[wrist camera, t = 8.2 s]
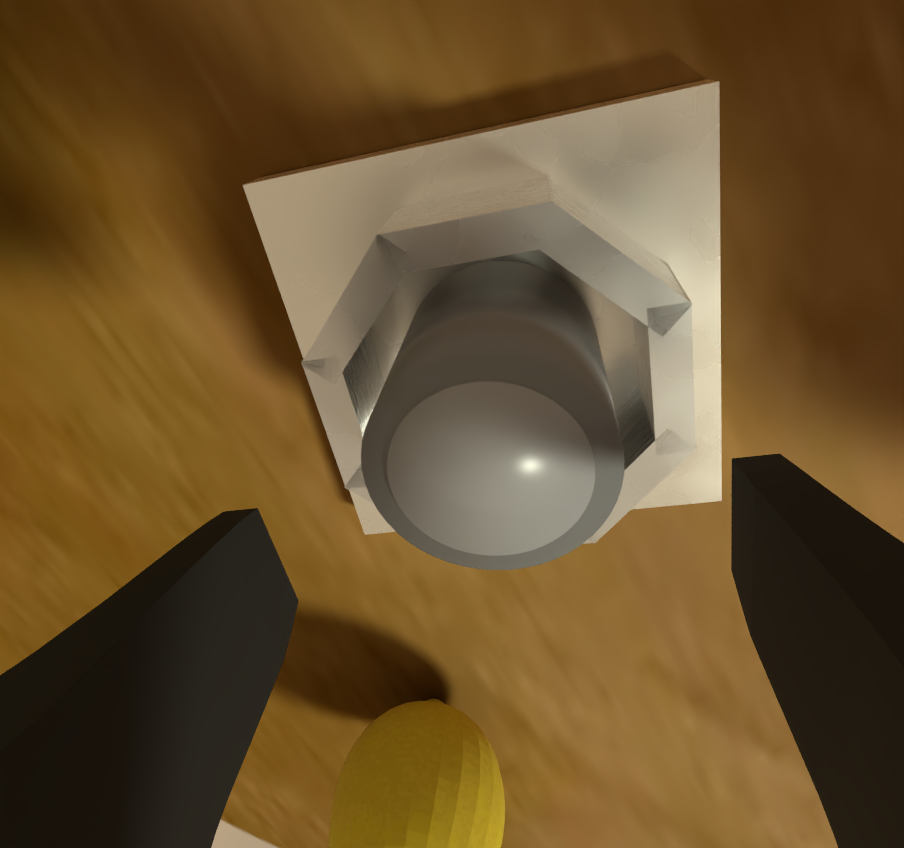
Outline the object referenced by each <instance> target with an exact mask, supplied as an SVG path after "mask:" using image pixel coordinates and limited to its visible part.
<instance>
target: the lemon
mask: <svg viewBox="0 0 904 848" xmlns="http://www.w3.org/2000/svg"><path fill="white" fill-rule="evenodd" d="M504 821H505V800H504V790H503V783H502V778H501V774H500V770H499V765H498V761H497V758H496V755H495V752H494V750H493V748H492V746H491V745H490V743H489V741H488V740H487V738H486V736H485V735H484V733H483V732H482V731H481V729H480V728H479V727H478V726H477V725H476V724H475V723H474V722H473V721H472V720H471V719H470V718H469V717H468V716H467V715H465V714H464V713H462V712H461V711H459V710H457V709H455V708H453V707H451V706H448V705H446V704H444V703H443V702H442V701H440V700H438V699H429V700H427V701H415V702H408V703H404V704H402V705H399V706H396V707H394V708H392V709H389V710H388V711H387V712H385V713H384V714H382V715H381V716H379V717H378V718H377V719H375V720H374V721H373V722H372V723H371V724H370V725H369V726H368V727H367V728H366V729H365V730H364V732H363V733H362V734H361V736H360V737H359V739H358V740H357V741H356V743H355V744H354V746H353V747H352V749H351V751H350V753H349V754H348V757H347V759H346V761H345V763H344V765H343V768H342V771H341V773H340V776H339V780H338V783H337V787H336V791H335V796H334V801H333V805H332V811H331V817H330V826H329V841H328V848H501V844H502V838H503V832H504Z"/></svg>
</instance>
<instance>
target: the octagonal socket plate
mask: <svg viewBox="0 0 904 848" xmlns="http://www.w3.org/2000/svg"><path fill="white" fill-rule="evenodd" d="M243 188H244V191H245V193H246V196H247V199H248V202H249V205H250V208H251V211H252V213H253V216H254V219H255V222H256V225H257V228H258V231H259V233H260V236H261V239H262V242H263V245H264V248H265V251H266V253H267V256H268V259H269V262H270V265H271V268H272V271H273V274H274V276H275V279H276V282H277V285H278V288H279V291H280V294H281V296H282V299H283V302H284V305H285V308H286V311H287V314H288V316H289V319H290V322H291V325H292V328H293V331H294V334H295V336H296V339H297V342H298V345H299V348H300V351H301V354H302V357H303V360H302V364H301V365H303V368H304V371H305V374H306V377H307V379H308V382H309V385H310V388H311V391H312V394H313V397H314V399H315V402H316V405H317V408H318V411H319V414H320V416H321V419H322V422H323V425H324V428H325V431H326V433H327V436H328V439H329V442H330V445H331V448H332V450H333V453H334V456H335V459H336V462H337V465H338V468H339V470H340V473H341V476H342V479H343V482H344V485H345V488H346V489H348V490H349V491H350V494H351V497H352V500H353V502H354V505H355V508H356V511H357V514H358V517H359V520H360V522H361V525H362V528H363V531H364V534H376V533H386V532H396V531H395V530H394V529H393V528H392V527H391V526H390V525H389V524H388V523H387V522H386V521H385V519H384V518H383V517H382V515H381V514H380V513H379V511H378V510H377V508H376V506H375V505H374V503H373V501H372V499H371V498H370V495H369V493H368V490H367V487H366V485H365V481H364V477H363V473H362V465H361V447H362V440H363V435H364V431H365V427H366V425H367V423H368V420H369V418H370V415H371V413H372V411H373V408H374V406H375V404H376V402H377V399H378V397H379V395H380V393H381V390H382V388H383V386H384V383H385V381H386V379H387V377H388V374H389V372H390V370H391V368H392V365H393V363H394V361H395V359H396V356H397V354H398V352H399V349H400V347H401V345H402V343H403V340H404V338H405V336H406V334H407V331H408V329H409V327H410V325H411V322H412V320H413V318H414V315H415V313H416V311H417V309H418V308H419V306H420V304H421V303H422V301H423V300H424V298H425V297H426V296H427V295H428V293H429V292H430V291H431V290H432V289H433V288H434V287H435V286H436V285H437V284H438V283H440V282H441V281H442V280H444V279H445V278H447V277H448V276H450V275H451V274H453V273H455V272H457V271H459V270H461V269H464V268H466V267H469V266H472V265H475V264H480V263H484V262H492V261H514V262H520V263H526V264H529V265H533V266H536V267H539V268H541V269H543V270H546V271H548V272H550V273H552V274H553V275H555V276H557V277H558V278H560V279H561V280H563V281H564V282H565V283H566V284H567V285H569V286H570V287H571V288H572V289H573V290H574V291H575V292H576V293H577V295H578V296H579V297H580V298H581V299H582V301H583V302H584V304H585V305H586V307H587V309H588V311H589V313H590V315H591V317H592V319H593V322H594V325H595V328H596V332H597V336H598V341H599V345H600V349H601V354H602V358H603V363H604V367H605V371H606V376H607V380H608V384H609V389H610V393H611V397H612V402H613V406H614V411H615V415H616V419H617V424H618V428H619V432H620V437H621V441H622V446H623V453H624V478H623V484H622V488H621V491H620V494H619V497H618V500H617V502H616V504H615V506H614V508H613V510H612V512H611V514H610V515H609V517H608V518H607V519H606V521H605V522H604V524H603V525H602V526H601V527H600V528H599V529H598V530H597V531H596V532H595V533H594V535H593V536H591V537H590V538H589V539H588V540H587V541H585V542H584V543H596V542H597V541H598V540H599V539H600V538H601V537H602V536H603V535H604V534H605V533H606V532H607V531H608V530H609V529H611V528H612V527H613V526H614V525H615V524H616V523H617V522H618V521H619V520H620V519H621V518H622V517H623V516H624V515H626V514H627V513H628V512H629V511H630V510H631V509H640V508H651V507H662V506H672V505H683V504H693V503H704V502H715V501H722V470H721V284H720V98H719V81H715V80H708V79H706V80H702V81H697V82H692V83H688V84H683V85H679V86H674V87H670V88H665V89H661V90H656V91H651V92H647V93H642V94H638V95H633V96H629V97H624V98H619V99H615V100H610V101H606V102H601V103H597V104H592V105H588V106H583V107H578V108H574V109H569V110H565V111H560V112H556V113H551V114H546V115H542V116H537V117H533V118H528V119H524V120H519V121H515V122H510V123H505V124H501V125H496V126H492V127H487V128H483V129H478V130H473V131H469V132H464V133H460V134H455V135H451V136H446V137H442V138H437V139H432V140H428V141H423V142H419V143H414V144H410V145H405V146H400V147H396V148H391V149H387V150H382V151H378V152H373V153H369V154H364V155H359V156H355V157H350V158H346V159H341V160H337V161H332V162H327V163H323V164H318V165H314V166H309V167H305V168H300V169H295V170H291V171H286V172H282V173H277V174H273V175H268V176H264V177H259V178H257V179H255V180H253V181H250V182H248V183H246V184H244V185H243ZM584 543H583V544H584Z"/></svg>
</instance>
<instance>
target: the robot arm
mask: <svg viewBox="0 0 904 848" xmlns="http://www.w3.org/2000/svg"><path fill="white" fill-rule="evenodd" d="M732 573H733V577H734V581H735V584H736V588H737V591H738V595H739V598H740V602H741V605H742V609H743V612H744V615H745V619H746V622H747V625H748V629H749V632H750V635H751V638H752V640H753V643H754V645H755V648H756V650H757V652H758V655H759V657H760V659H761V662H762V664H763V667H764V669H765V671H766V674H767V676H768V678H769V681H770V683H771V685H772V688H773V690H774V692H775V695H776V697H777V699H778V702H779V704H780V706H781V709H782V711H783V713H784V716H785V718H786V720H787V723H788V725H789V727H790V730H791V732H792V734H793V737H794V739H795V741H796V744H797V746H798V748H799V751H800V753H801V755H802V758H803V760H804V762H805V765H806V767H807V769H808V771H809V774H810V776H811V778H812V781H813V783H814V785H815V788H816V790H817V792H818V795H819V797H820V800H821V802H822V805H823V808H824V810H825V813H826V815H827V818H828V821H829V823H830V826H831V828H832V831H833V834H834V836H835V839H836V842H837V845H838V848H904V543H903V542H901V541H900V540H898V539H897V538H895V537H894V536H892V535H891V534H890V533H888V532H887V531H885V530H884V529H882V528H881V527H879V526H878V525H877V524H875V523H874V522H872V521H871V520H869V519H868V518H867V517H865V516H864V515H862V514H861V513H860V512H858V511H857V510H855V509H854V508H853V507H851V506H850V505H848V504H847V503H846V502H844V501H843V500H842V499H840V498H839V497H838V496H836V495H835V494H833V493H832V492H831V491H829V490H828V489H827V488H825V487H824V486H823V485H821V484H820V483H819V482H817V481H816V480H815V479H813V478H812V477H811V476H809V475H808V474H807V473H805V472H804V471H803V470H801V469H800V468H799V467H797V466H796V465H794V464H793V463H792V462H790V461H789V460H788V459H786V458H785V457H783V456H782V455H781V454H772V455H762V456H753V457H743V458H733V459H732ZM297 605H298V599H297V597H296V594H295V592H294V590H293V587H292V585H291V583H290V581H289V578H288V576H287V574H286V572H285V569H284V567H283V565H282V563H281V560H280V558H279V556H278V553H277V551H276V549H275V547H274V544H273V542H272V540H271V538H270V535H269V533H268V531H267V528H266V526H265V524H264V522H263V519H262V517H261V515H260V513H259V510H258V508H255V509H245V510H236V511H226V512H223V513H221V514H219V515H218V516H216V517H215V518H213V519H212V520H210V521H209V522H207V523H206V524H204V525H203V526H201V527H200V528H199V529H197V530H196V531H195V532H193V533H192V534H191V535H189V536H188V537H187V538H185V539H184V540H183V541H181V542H180V543H179V544H177V545H176V546H175V547H173V548H172V549H171V550H170V551H168V552H167V553H166V554H164V555H163V556H162V557H161V558H159V559H158V560H157V561H155V562H154V563H153V564H152V565H150V566H149V567H148V568H146V569H145V570H144V571H142V572H141V573H140V574H139V575H137V576H136V577H135V578H133V579H132V580H131V581H130V582H128V583H127V584H126V585H124V586H123V587H122V588H121V589H119V590H118V591H117V592H115V593H114V594H113V595H112V596H110V597H109V598H108V599H106V600H105V601H104V602H102V603H101V604H100V605H98V606H97V607H96V608H94V609H93V610H92V611H90V612H89V613H87V614H86V615H85V616H83V617H82V618H81V619H79V620H78V621H76V622H75V623H74V624H72V625H71V626H70V627H68V628H67V629H66V630H64V631H63V632H61V633H60V634H59V635H57V636H56V637H55V638H53V639H52V640H51V641H49V642H48V643H46V644H45V645H44V646H42V647H41V648H40V649H38V650H37V651H35V652H34V653H33V654H31V655H30V656H28V657H27V658H25V659H24V660H22V661H21V662H20V663H18V664H17V665H15V666H14V667H12V668H11V669H9V670H8V671H6V672H5V673H3V674H2V675H0V848H211V846H212V843H213V840H214V836H215V833H216V830H217V827H218V824H219V822H220V819H221V816H222V814H223V811H224V808H225V805H226V803H227V800H228V797H229V795H230V792H231V790H232V787H233V785H234V782H235V780H236V778H237V775H238V773H239V770H240V768H241V765H242V763H243V760H244V758H245V755H246V753H247V751H248V748H249V746H250V743H251V741H252V738H253V736H254V733H255V731H256V728H257V726H258V723H259V721H260V719H261V716H262V714H263V711H264V709H265V706H266V704H267V701H268V699H269V696H270V694H271V691H272V689H273V686H274V683H275V681H276V678H277V676H278V673H279V671H280V668H281V665H282V663H283V660H284V657H285V653H286V649H287V646H288V642H289V638H290V635H291V631H292V626H293V622H294V618H295V613H296V609H297Z"/></svg>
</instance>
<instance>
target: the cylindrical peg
mask: <svg viewBox="0 0 904 848" xmlns="http://www.w3.org/2000/svg"><path fill="white" fill-rule="evenodd" d="M361 465H362V473H363V477H364V481H365V485H366V487H367V490H368V493H369V495H370V498H371V499H372V501H373V503H374V505H375V506H376V508H377V510H378V511H379V513H380V514H381V515H382V517H383V518H384V519H385V521H386V522H387V523H388V524H389V525H390V526H391V527H392V528H393V529H394V530H395V531H396V532H397V533H398V534H399V535H401V536H402V537H403V538H404V539H405V540H407V541H408V542H409V543H411V544H413V545H414V546H416V547H417V548H419V549H420V550H422V551H424V552H426V553H428V554H430V555H432V556H434V557H436V558H439V559H442V560H444V561H447V562H450V563H453V564H457V565H460V566H465V567H470V568H476V569H486V570H511V569H520V568H526V567H531V566H535V565H540V564H543V563H546V562H549V561H551V560H554V559H556V558H559V557H561V556H563V555H565V554H567V553H569V552H571V551H572V550H574V549H575V548H577V547H579V546H580V545H582V544H583V543H584V542H585V541H587V540H588V539H589V538H590V537H591V536H593V535H594V533H595V532H596V531H597V530H598V529H599V528H600V527H601V526H602V525H603V524H604V522H605V521H606V519H607V518H608V517H609V515H610V514H611V512H612V510H613V508H614V506H615V504H616V502H617V500H618V497H619V494H620V491H621V488H622V484H623V478H624V453H623V446H622V441H621V437H620V432H619V428H618V424H617V419H616V415H615V411H614V406H613V402H612V397H611V393H610V389H609V384H608V380H607V376H606V371H605V367H604V363H603V358H602V354H601V349H600V345H599V341H598V336H597V332H596V328H595V325H594V322H593V319H592V317H591V315H590V313H589V311H588V309H587V307H586V305H585V304H584V302H583V301H582V299H581V298H580V297H579V296H578V295H577V293H576V292H575V291H574V290H573V289H572V288H571V287H570V286H569V285H567V284H566V283H565V282H564V281H563V280H561V279H560V278H558V277H557V276H555V275H553V274H552V273H550V272H548V271H546V270H543V269H541V268H539V267H536V266H533V265H529V264H526V263H520V262H514V261H492V262H484V263H480V264H475V265H472V266H469V267H466V268H464V269H461V270H459V271H457V272H455V273H453V274H451V275H450V276H448V277H447V278H445V279H444V280H442V281H441V282H440V283H438V284H437V285H436V286H435V287H434V288H433V289H432V290H431V291H430V292H429V293H428V295H427V296H426V297H425V298H424V300H423V301H422V303H421V304H420V306H419V308H418V309H417V311H416V313H415V315H414V318H413V320H412V322H411V325H410V327H409V329H408V331H407V334H406V336H405V338H404V340H403V343H402V345H401V347H400V349H399V352H398V354H397V356H396V359H395V361H394V363H393V365H392V368H391V370H390V372H389V374H388V377H387V379H386V381H385V383H384V386H383V388H382V390H381V393H380V395H379V397H378V399H377V402H376V404H375V406H374V408H373V411H372V413H371V415H370V418H369V420H368V423H367V425H366V427H365V431H364V435H363V440H362V447H361Z"/></svg>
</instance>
